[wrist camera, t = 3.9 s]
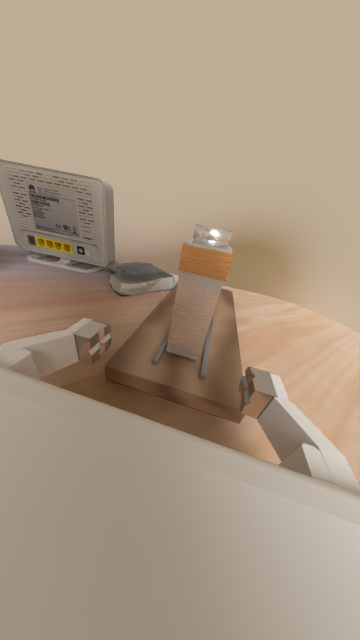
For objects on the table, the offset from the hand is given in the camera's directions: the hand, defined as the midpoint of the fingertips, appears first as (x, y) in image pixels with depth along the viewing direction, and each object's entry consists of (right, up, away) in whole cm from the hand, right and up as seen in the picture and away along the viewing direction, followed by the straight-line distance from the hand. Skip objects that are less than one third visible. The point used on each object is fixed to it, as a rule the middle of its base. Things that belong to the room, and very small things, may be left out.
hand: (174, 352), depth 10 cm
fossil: (-11, +11, +34) cm, 38 cm away
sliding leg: (+1, -2, +10) cm, 11 cm away
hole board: (+3, +2, +22) cm, 22 cm away
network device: (-31, +17, +37) cm, 51 cm away
